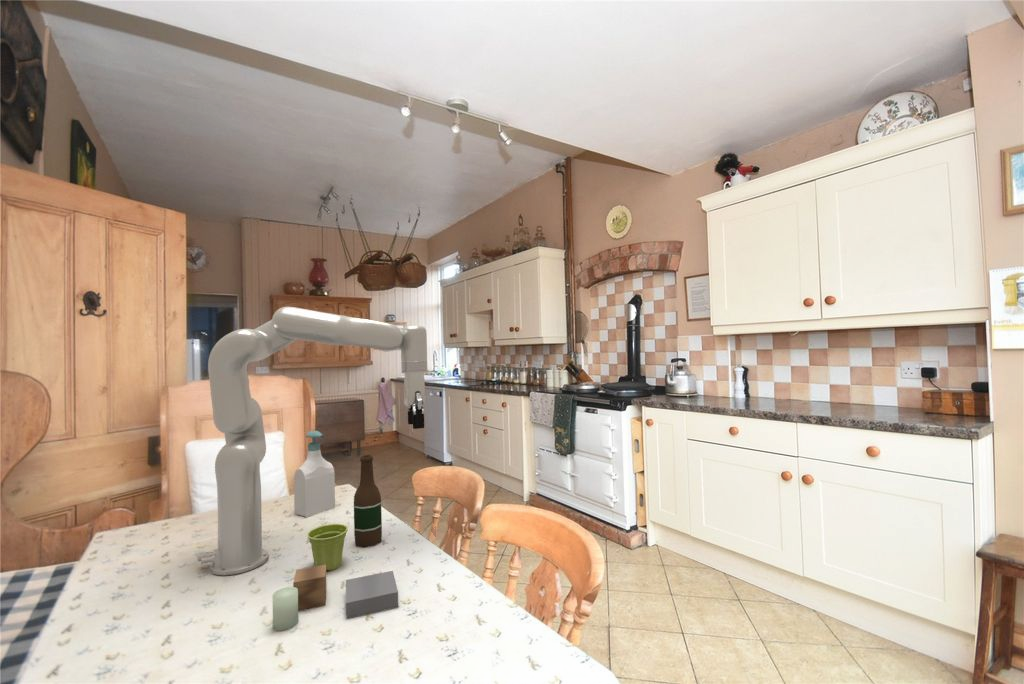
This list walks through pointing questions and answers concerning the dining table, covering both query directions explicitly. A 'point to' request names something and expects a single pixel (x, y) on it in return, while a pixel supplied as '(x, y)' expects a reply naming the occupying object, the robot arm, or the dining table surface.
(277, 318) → the robot arm
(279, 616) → the tin
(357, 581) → the plinth
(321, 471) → the soap bottle
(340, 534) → the plant pot
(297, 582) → the cube
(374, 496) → the beer bottle
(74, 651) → the dining table surface
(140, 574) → the dining table surface
